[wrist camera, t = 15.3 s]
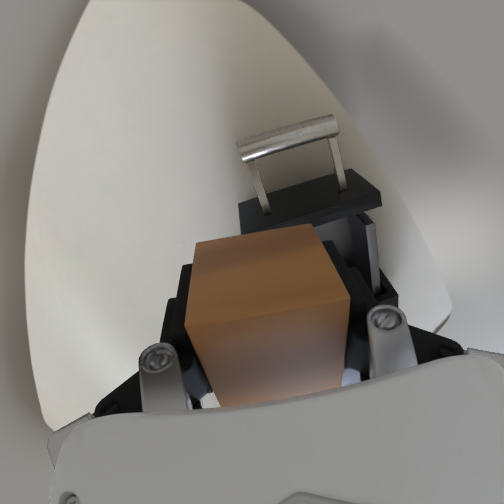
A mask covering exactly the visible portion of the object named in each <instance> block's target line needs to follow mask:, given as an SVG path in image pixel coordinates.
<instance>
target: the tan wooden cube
mask: <svg viewBox="0 0 504 504" xmlns="http://www.w3.org/2000/svg"><path fill="white" fill-rule="evenodd" d="M349 310H350V295H349V294H348V292H347V290H346V288H345V286H344V284H343V282H342V280H341V278H340V276H339V274H338V272H337V270H336V268H335V266H334V265H333V263H332V261H331V259H330V257H329V255H328V253H327V251H326V250H325V248H324V246H323V244H322V242H321V240H320V238H319V237H318V235H317V233H316V231H315V229H314V228H313V226H312V224H304V225H297V226H291V227H285V228H279V229H273V230H267V231H261V232H255V233H249V234H244V235H238V236H232V237H226V238H221V239H215V240H209V241H204V242H198V243H196V247H195V253H194V259H193V266H192V273H191V279H190V286H189V294H188V301H187V308H186V316H185V324H184V326H185V328H186V331H187V333H188V336H189V338H190V340H191V343H192V345H193V347H194V350H195V352H196V354H197V356H198V359H199V361H200V363H201V365H202V368H203V370H204V372H205V374H206V376H207V379H208V381H209V383H210V385H211V387H212V389H213V391H214V393H215V396H216V398H217V400H218V402H219V404H220V406H221V407H227V406H236V405H244V404H252V403H259V402H265V401H272V400H278V399H284V398H290V397H295V396H300V395H305V394H310V393H315V392H320V391H325V390H329V389H334V388H338V387H341V385H342V378H343V370H344V362H345V353H346V343H347V333H348V322H349Z"/></svg>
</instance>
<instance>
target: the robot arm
mask: <svg viewBox="0 0 504 504" xmlns="http://www.w3.org/2000/svg"><path fill="white" fill-rule="evenodd" d="M321 242H322V244H323V246H324V248H325V250H326V251H327V253H328V255H329V257H330V259H331V261H332V263H333V265H334V266H335V268H336V270H337V272H338V274H339V276H340V278H341V280H342V282H343V284H344V286H345V288H346V290H347V292H348V294H349V295H350V310H349V322H348V333H347V343H346V353H345V362H344V368H345V370H347V369H353V370H356V371H358V383H354V384H350V385H346V386H342V387H338V388H334V389H329V390H325V391H320V392H315V393H310V394H305V395H300V396H295V397H290V398H284V399H278V400H272V401H265V402H259V403H252V404H244V405H236V406H227V407H218V408H207V409H204V405H203V402H202V399H201V398H202V397H203V396H205V395H206V394H207V393H212V392H213V389H212V387H211V385H210V383H209V381H208V379H207V376H206V374H205V372H204V370H203V368H202V365H201V363H200V361H199V359H198V356H197V354H196V352H195V350H194V347H193V345H192V343H191V340H190V338H189V336H188V333H187V331H186V328H185V326H184V324H185V316H186V308H187V301H188V294H189V286H190V279H191V273H192V266H193V264H187V265H183V266H182V270H181V275H180V280H179V286H178V291H177V296H176V298H170V299H169V300H168V303H167V307H166V312H165V317H164V322H163V327H162V333H161V338H160V343H156V344H153V345H151V346H149V347H148V348H146V349H145V350H144V351H143V352H142V353H141V355H140V357H139V371H138V372H137V373H135V374H134V375H133V376H131V377H130V378H129V379H128V380H126V381H125V382H124V383H123V384H121V385H120V386H119V387H117V388H116V389H115V390H114V391H112V392H111V393H110V394H108V395H107V396H106V397H105V398H103V399H102V400H101V401H100V402H99V403H98V405H97V406H96V408H95V412H94V413H93V414H92V415H91V414H90V413H87V414H85V415H84V416H82V417H80V418H78V419H77V420H75V421H73V422H71V423H70V424H68V425H66V426H64V427H62V428H61V429H59V430H57V431H55V432H54V433H53V434H52V435H51V436H50V438H49V439H48V443H47V447H48V452H49V454H50V458H51V461H52V463H53V466H54V469H55V471H54V475H53V481H52V485H51V492H50V499H49V504H504V354H500V353H494V352H488V351H483V350H478V349H472V348H467V350H463V348H462V347H461V345H459V344H458V343H457V342H455V341H453V340H451V339H448V338H445V337H442V336H440V335H437V334H434V333H431V332H428V331H425V330H422V329H419V328H416V327H413V326H410V325H408V323H407V319H406V316H405V314H404V313H403V312H402V311H401V310H400V309H399V308H397V307H395V306H392V305H379V304H378V302H377V300H376V299H375V297H374V295H373V293H372V292H371V290H370V288H369V287H368V285H367V283H366V282H365V280H364V278H363V277H362V275H361V273H360V272H359V270H358V269H357V268H356V267H351V268H348V266H347V264H346V262H345V261H344V259H343V257H342V256H341V254H340V252H339V251H338V249H337V247H336V246H335V244H334V242H333V241H332V240H327V241H321Z"/></svg>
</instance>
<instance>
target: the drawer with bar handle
mask: <svg viewBox="0 0 504 504" xmlns="http://www.w3.org/2000/svg"><path fill="white" fill-rule="evenodd" d="M337 135H339V126H338V123H337V120H336V118H335V117H334V115H333V114H329V115H325V116H321V117H317V118H314V119H310V120H306V121H302V122H299V123H295V124H291V125H288V126H284V127H281V128H278V129H274V130H271V131H268V132H264V133H261V134H258V135H255V136H252V137H249V138H246V139H243V140H240V141H237V142H236V144H237V147H238V150H239V153H240V156H241V159H242V161H243V163H246V164H247V166H248V169H249V172H250V175H251V178H252V181H253V184H254V187H255V190H256V192H257V195H258V197H256V198H253V199H250V200H247V201H244V202H241V203H238V208H239V218H240V229H241V235H244V234H249V233H255V232H261V231H267V230H273V229H279V228H285V227H291V226H297V225H304V224H312V226H313V228H314V229H315V231H316V233H317V235H318V237H319V238H320V240H321V241H327V240H332V241H333V242H334V244H335V246H336V247H337V249H338V251H339V252H340V254H341V256H342V257H343V259H344V261H345V262H346V264H347V266H348V268H351V267H356V268H357V269H358V270H359V272H360V273H361V275H362V277H363V278H364V280H365V282H366V283H367V285H368V287H369V288H370V290H371V292H372V293H373V295H374V297H376V296H379V295H381V290H380V275H379V262H378V250H377V240H376V231H375V223H374V222H373V221H372V220H371V219H370V217H369V216H368V215H367V214H366V213H365V212H364V211H367V210H371V209H374V208H377V207H380V206H382V202H381V194H380V191H379V190H378V189H376V188H375V187H374V186H373V185H372V184H370V183H369V182H368V181H367V180H365V179H364V178H363V177H362V176H360V175H359V174H358V173H357V172H355V171H354V170H353V169H348V170H344V169H343V165H342V160H341V156H340V151H339V147H338V143H337V138H336V136H337ZM326 138H327V142H328V146H329V150H330V154H331V159H332V163H333V167H334V172H335V173H334V174H331V175H327V176H324V177H320V178H317V179H314V180H310V181H307V182H304V183H300V184H297V185H294V186H291V187H287V188H284V189H281V190H278V191H275V192H272V193H268V194H266V193H265V190H264V187H263V184H262V181H261V178H260V175H259V172H258V169H257V166H256V163H255V159H258V158H261V157H264V156H267V155H271V154H274V153H277V152H280V151H284V150H287V149H290V148H294V147H297V146H301V145H304V144H308V143H311V142H315V141H318V140H322V139H326Z"/></svg>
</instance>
